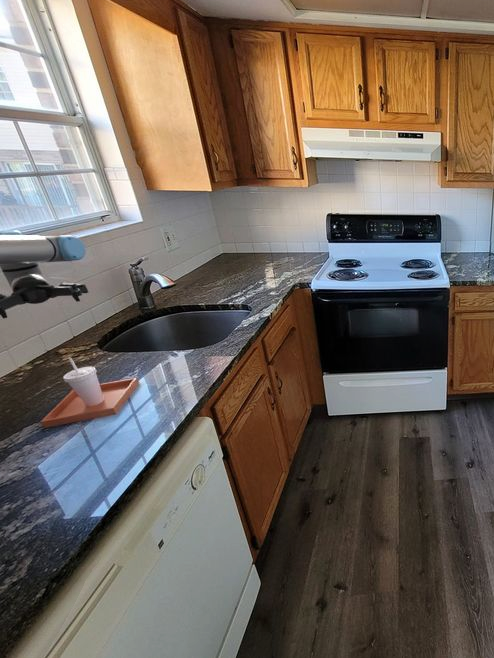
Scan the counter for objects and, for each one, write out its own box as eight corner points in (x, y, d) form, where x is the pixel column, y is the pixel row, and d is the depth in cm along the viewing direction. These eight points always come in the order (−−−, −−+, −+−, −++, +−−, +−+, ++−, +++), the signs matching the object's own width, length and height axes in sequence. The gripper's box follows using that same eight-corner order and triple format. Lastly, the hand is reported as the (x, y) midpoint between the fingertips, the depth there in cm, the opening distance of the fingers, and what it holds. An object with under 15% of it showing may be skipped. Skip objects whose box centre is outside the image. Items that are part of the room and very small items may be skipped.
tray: (44, 428, 92) (40, 421, 91) (77, 394, 105) (74, 388, 104) (116, 413, 96) (113, 407, 95) (139, 383, 109) (137, 377, 108)
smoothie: (98, 393, 104) (75, 351, 98) (116, 396, 103) (94, 353, 97) (73, 408, 98) (47, 363, 92) (92, 410, 97) (67, 366, 91)
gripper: (93, 289, 117) (108, 303, 105) (-26, 314, 100) (-25, 335, 87) (82, 266, 114) (97, 278, 102) (-43, 288, 97) (-43, 306, 84)
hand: (41, 304), depth 95 cm, fingers open, 13 cm apart
